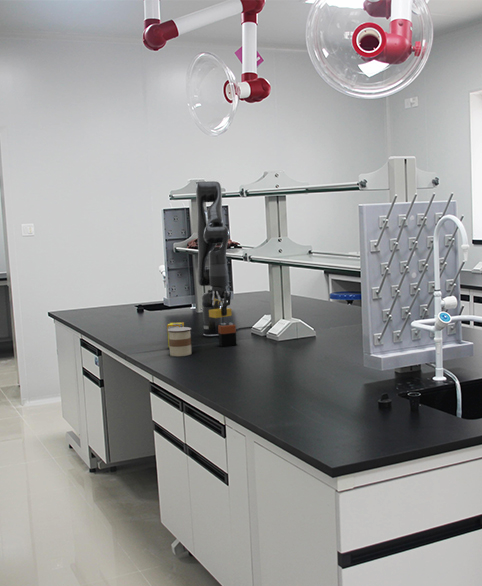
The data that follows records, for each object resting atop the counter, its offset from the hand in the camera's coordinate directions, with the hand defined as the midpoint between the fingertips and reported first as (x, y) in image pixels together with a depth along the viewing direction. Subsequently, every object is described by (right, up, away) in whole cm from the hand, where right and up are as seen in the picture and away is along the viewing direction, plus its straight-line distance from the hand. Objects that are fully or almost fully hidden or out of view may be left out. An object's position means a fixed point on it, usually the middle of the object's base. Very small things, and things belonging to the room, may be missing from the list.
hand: (220, 314), depth 295 cm
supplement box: (-21, -15, +14) cm, 29 cm away
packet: (0, -1, 0) cm, 1 cm away
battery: (+1, -14, +16) cm, 21 cm away
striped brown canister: (-17, -17, 0) cm, 23 cm away
